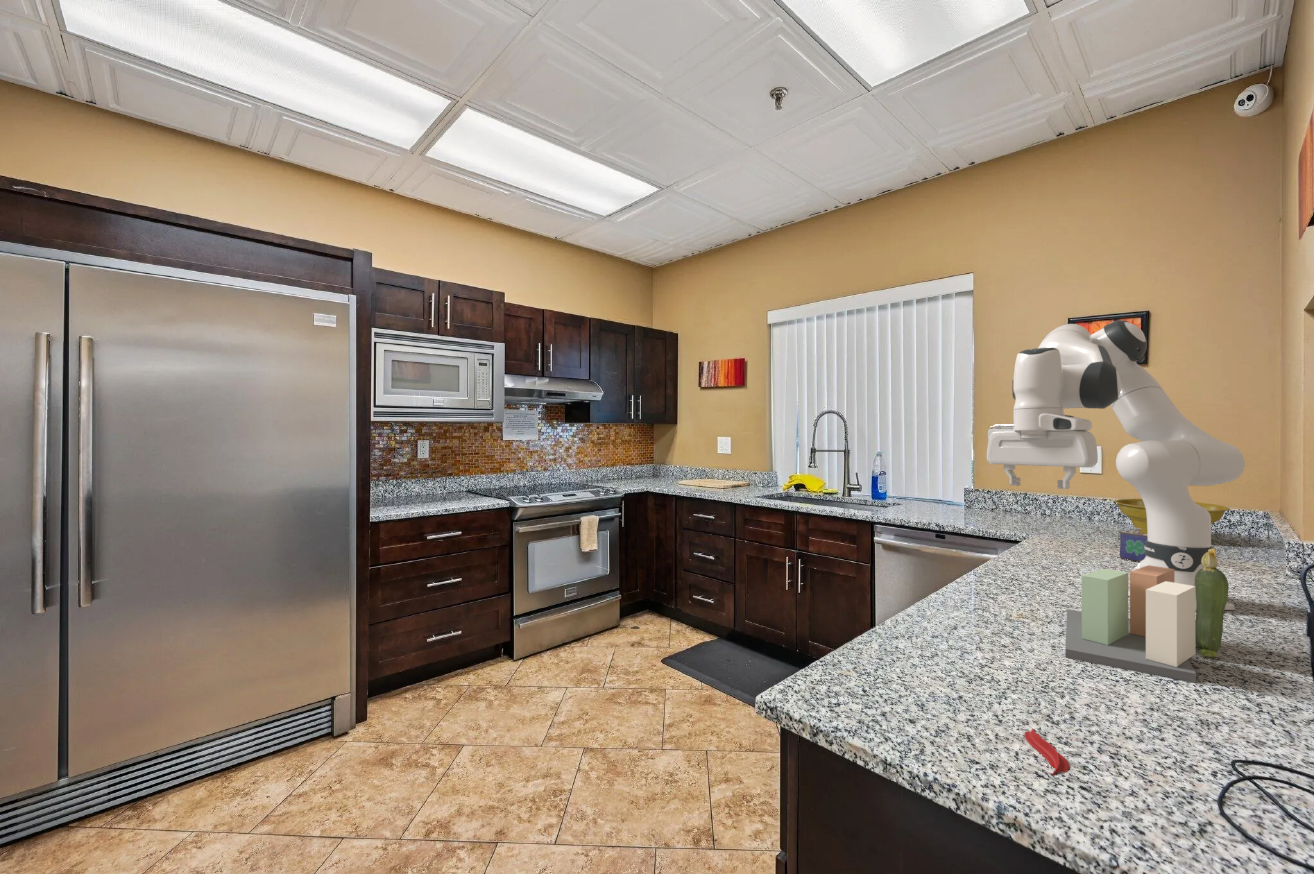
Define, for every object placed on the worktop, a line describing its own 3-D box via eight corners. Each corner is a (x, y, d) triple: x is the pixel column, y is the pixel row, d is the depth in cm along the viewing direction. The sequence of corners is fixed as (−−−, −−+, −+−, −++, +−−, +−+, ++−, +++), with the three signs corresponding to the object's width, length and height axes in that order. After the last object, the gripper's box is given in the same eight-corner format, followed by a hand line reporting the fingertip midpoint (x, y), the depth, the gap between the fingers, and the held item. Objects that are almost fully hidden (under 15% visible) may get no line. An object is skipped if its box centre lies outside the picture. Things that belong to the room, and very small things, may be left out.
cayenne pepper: (1071, 787, 63) (1071, 771, 63) (1023, 773, 66) (1023, 757, 66) (1066, 739, 73) (1066, 725, 73) (1024, 728, 76) (1024, 715, 76)
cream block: (1145, 658, 94) (1145, 589, 94) (1165, 646, 100) (1165, 581, 100) (1176, 666, 91) (1176, 595, 91) (1195, 653, 96) (1195, 586, 96)
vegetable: (1192, 650, 102) (1192, 543, 102) (1226, 656, 99) (1226, 546, 99) (1196, 657, 98) (1196, 547, 98) (1230, 664, 96) (1230, 550, 96)
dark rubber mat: (1067, 616, 121) (1067, 609, 121) (1171, 632, 111) (1171, 625, 111) (1065, 657, 99) (1065, 648, 99) (1195, 682, 89) (1195, 673, 89)
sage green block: (1081, 638, 104) (1081, 575, 104) (1103, 628, 109) (1103, 568, 109) (1107, 645, 100) (1107, 580, 100) (1128, 634, 106) (1128, 572, 106)
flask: (1157, 564, 169) (1157, 529, 169) (1152, 565, 168) (1152, 530, 168) (1122, 558, 177) (1122, 525, 177) (1117, 559, 176) (1117, 525, 176)
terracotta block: (1130, 633, 106) (1130, 571, 106) (1148, 623, 112) (1148, 565, 112) (1156, 639, 103) (1156, 576, 103) (1174, 629, 108) (1174, 569, 108)
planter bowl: (1228, 551, 187) (1228, 512, 187) (1107, 538, 211) (1107, 503, 211) (1230, 538, 209) (1230, 503, 209) (1121, 528, 233) (1121, 496, 233)
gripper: (980, 423, 124) (980, 484, 124) (1086, 421, 107) (1087, 491, 106) (995, 424, 127) (996, 483, 127) (1101, 421, 110) (1101, 490, 110)
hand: (1038, 487), depth 117 cm, fingers open, 8 cm apart
